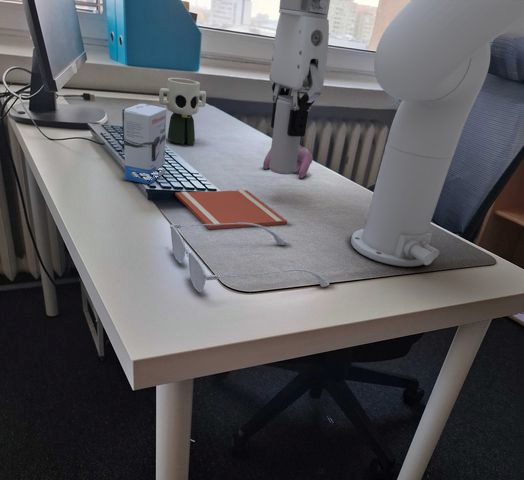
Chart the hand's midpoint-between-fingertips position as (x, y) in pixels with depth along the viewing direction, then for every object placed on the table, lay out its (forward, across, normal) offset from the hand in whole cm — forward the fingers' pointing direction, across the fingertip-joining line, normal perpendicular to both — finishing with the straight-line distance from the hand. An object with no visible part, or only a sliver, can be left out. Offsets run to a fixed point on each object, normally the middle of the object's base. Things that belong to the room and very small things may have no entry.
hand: (287, 130), depth 87 cm
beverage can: (+7, 0, 0) cm, 7 cm away
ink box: (+12, +15, +20) cm, 28 cm away
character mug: (+11, +39, +4) cm, 41 cm away
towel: (+12, -3, +11) cm, 17 cm away
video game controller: (+12, +17, -12) cm, 24 cm away
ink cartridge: (+11, +31, +18) cm, 38 cm away
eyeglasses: (+13, -24, +18) cm, 33 cm away
